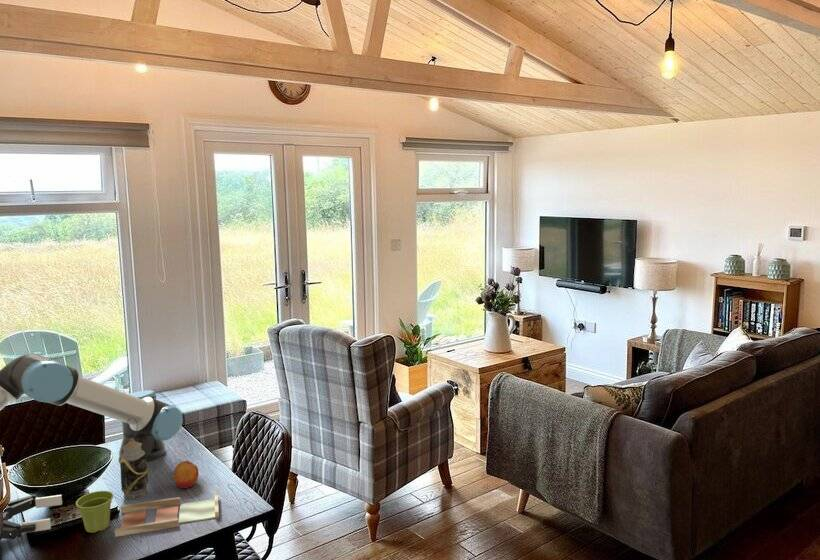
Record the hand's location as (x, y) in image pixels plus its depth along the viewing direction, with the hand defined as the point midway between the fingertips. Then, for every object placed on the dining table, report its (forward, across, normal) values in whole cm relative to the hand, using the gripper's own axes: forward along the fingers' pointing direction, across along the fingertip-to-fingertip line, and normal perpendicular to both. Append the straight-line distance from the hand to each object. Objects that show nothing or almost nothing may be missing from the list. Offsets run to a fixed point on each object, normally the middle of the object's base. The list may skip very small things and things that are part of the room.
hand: (56, 511), depth 173 cm
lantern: (+18, -17, -7) cm, 26 cm away
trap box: (+29, 0, -7) cm, 30 cm away
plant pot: (+10, 0, -7) cm, 12 cm away
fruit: (+33, -18, -7) cm, 39 cm away
